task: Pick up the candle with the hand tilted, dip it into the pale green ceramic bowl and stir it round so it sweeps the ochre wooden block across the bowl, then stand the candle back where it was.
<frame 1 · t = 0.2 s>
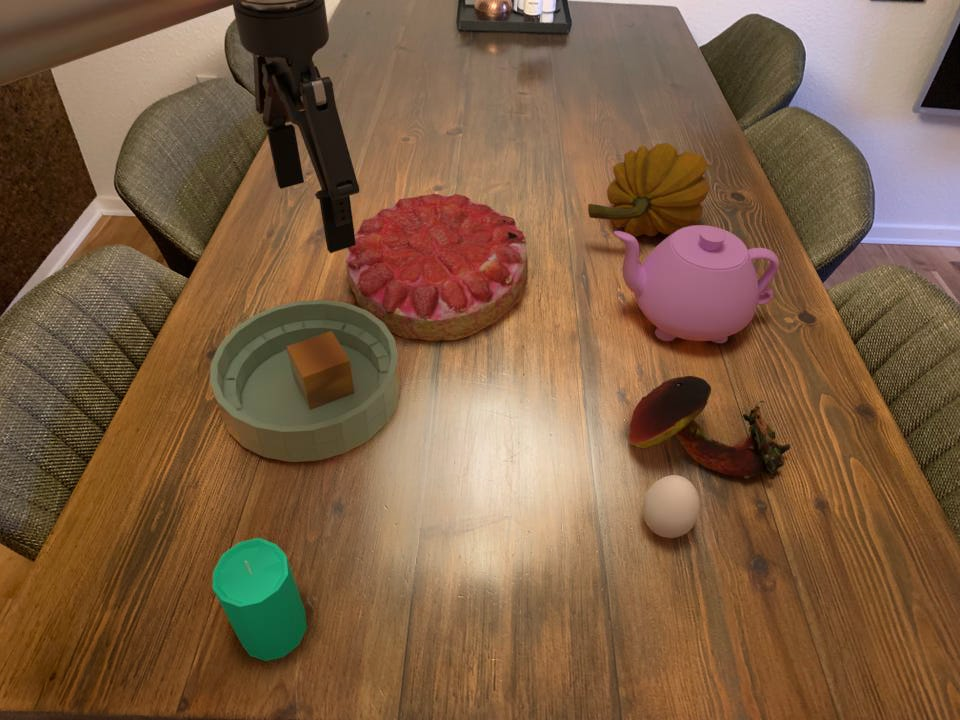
hand: (315, 214, 74), 21 cm above the table, tool pointing down, fingers open, 13 cm apart
block: (324, 386, 84), point 1 cm above the table, touching bowl
fruit: (642, 227, 110), on the table
bowl: (312, 395, 84), on the table
mushroom: (703, 446, 80), on the table
egg: (662, 527, 73), on the table
candle: (273, 628, 64), on the table
cake: (439, 281, 100), on the table
teapot: (679, 318, 96), on the table
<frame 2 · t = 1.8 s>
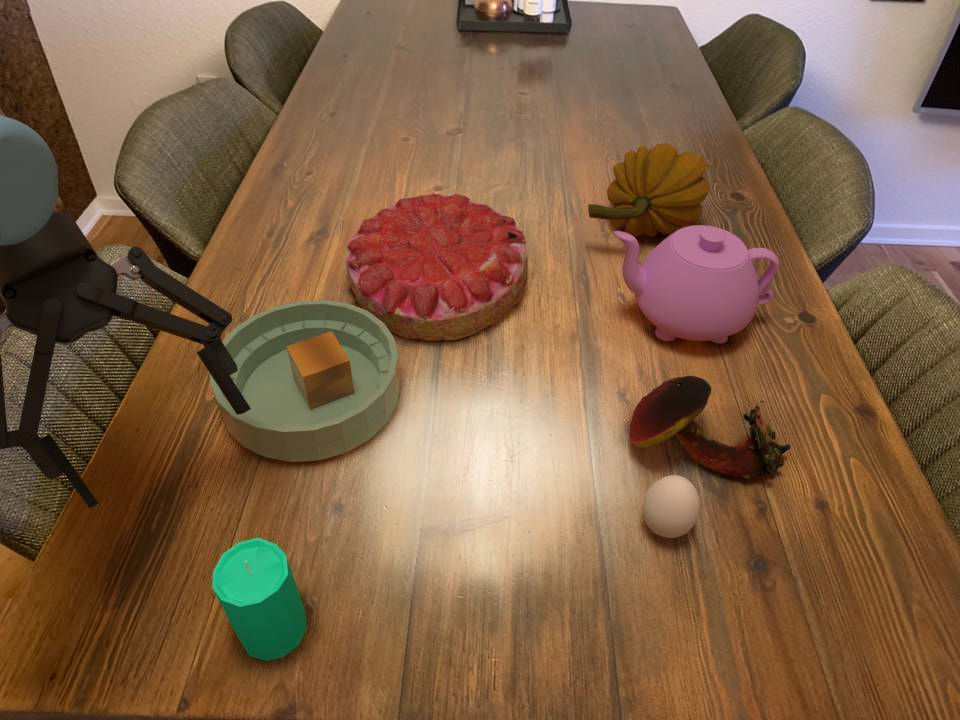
hand: (173, 456, 59), 15 cm above the table, tool tilted 45°, fingers open, 13 cm apart
nothing on the table moved.
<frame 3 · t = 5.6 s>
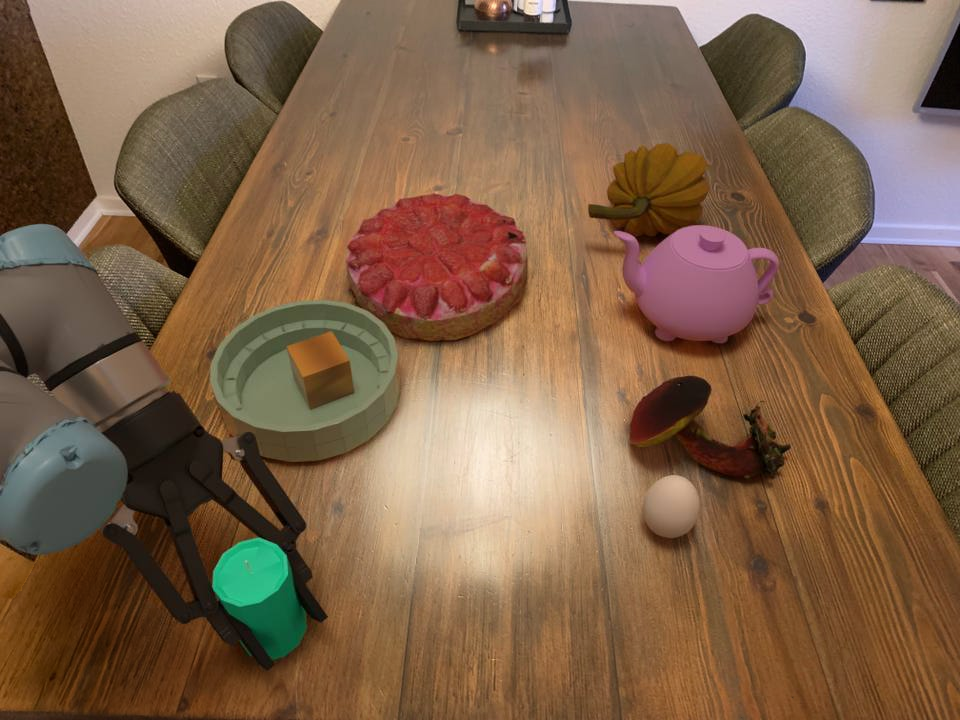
hand: (293, 640, 60), 3 cm above the table, tool tilted 45°, fingers closed on candle, 5 cm apart
candle: (274, 628, 64), on the table, touching gripper
everything else where it was.
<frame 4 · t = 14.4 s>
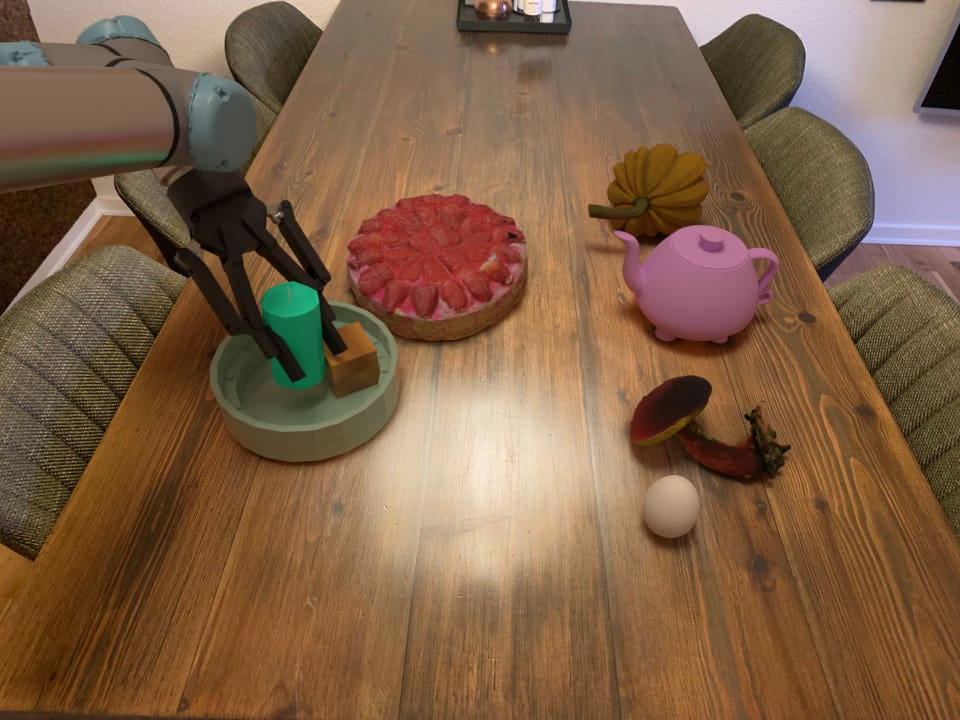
hand: (320, 365, 76), 8 cm above the table, tool tilted 45°, fingers closed on candle, 5 cm apart
block: (350, 376, 85), point 1 cm above the table, touching bowl, candle
candle: (299, 372, 81), point 4 cm above the table, touching block, gripper
everything else where it was.
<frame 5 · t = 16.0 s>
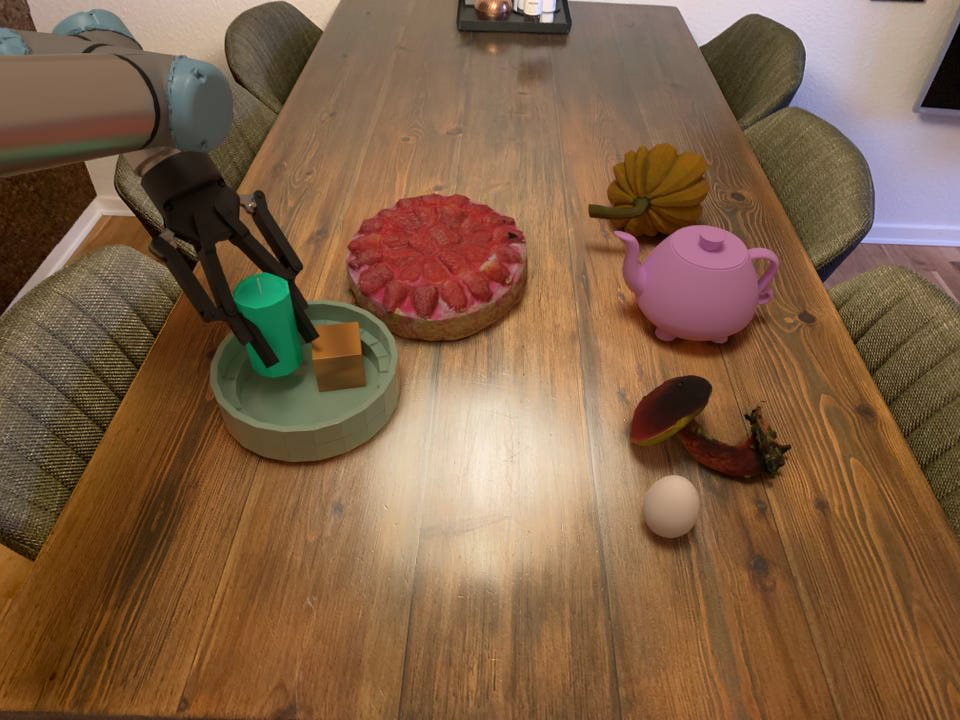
hand: (293, 351, 78), 8 cm above the table, tool tilted 45°, fingers closed on candle, 5 cm apart
block: (341, 372, 86), point 1 cm above the table, touching bowl, gripper
candle: (277, 360, 83), point 3 cm above the table, touching gripper
everything else where it was.
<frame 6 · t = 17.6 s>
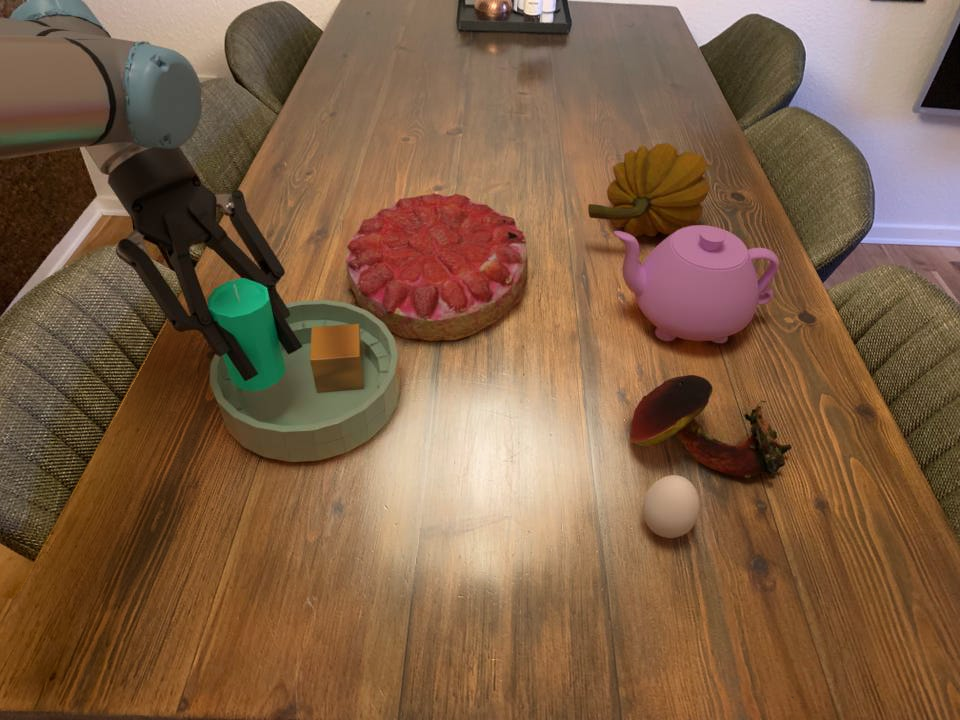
hand: (273, 363, 73), 11 cm above the table, tool tilted 45°, fingers closed on candle, 5 cm apart
block: (340, 374, 85), point 1 cm above the table, touching bowl
candle: (258, 372, 78), point 6 cm above the table, touching gripper
everything else where it was.
when the fingers open (4 cm above the table, at t = 24.5 s): candle stays where it is, on the table.
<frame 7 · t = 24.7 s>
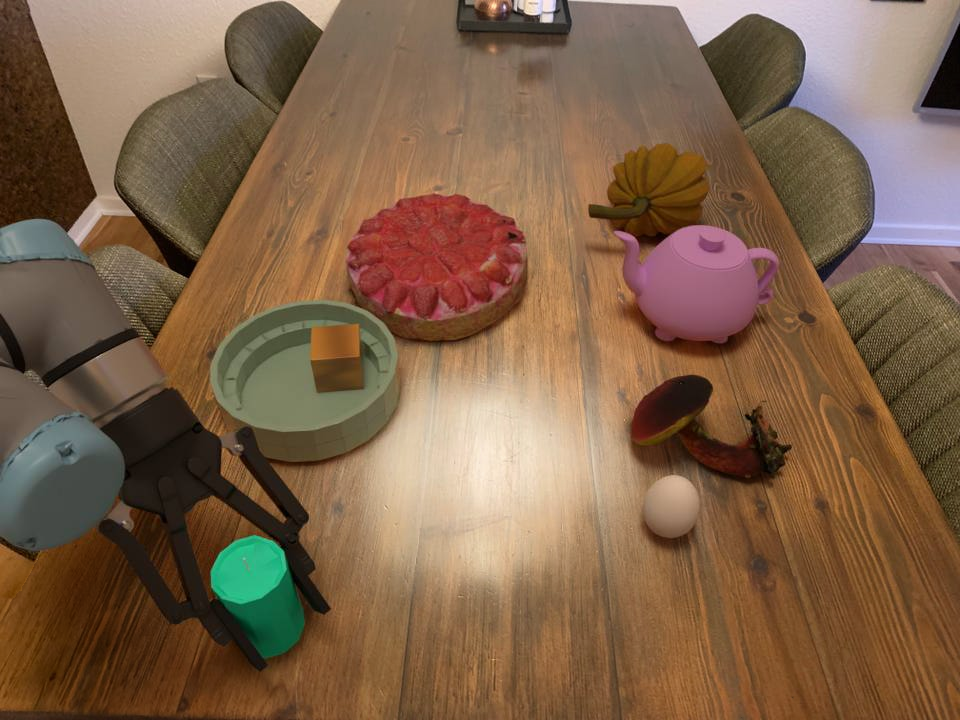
hand: (291, 636, 60), 4 cm above the table, tool tilted 45°, fingers open, 6 cm apart
candle: (272, 626, 64), on the table
everything else where it was.
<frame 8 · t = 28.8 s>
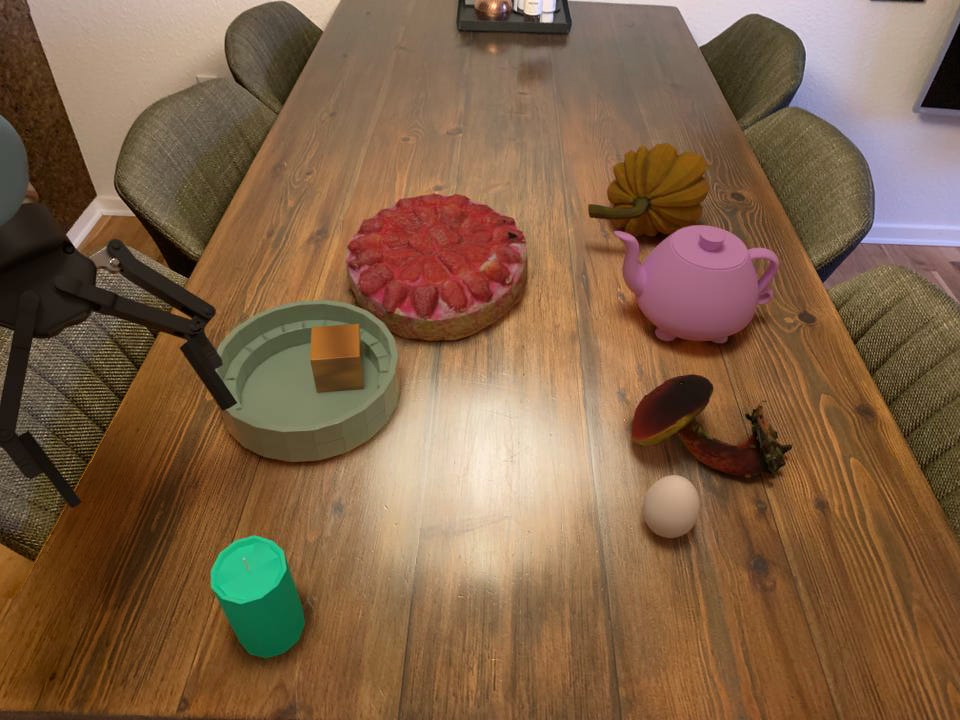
hand: (158, 453, 58), 16 cm above the table, tool tilted 45°, fingers open, 13 cm apart
nothing on the table moved.
at the end: block moved 2.6 cm from its start; block inside the target area in the bowl (4.0 cm from its centre), point 0.8 cm above the bowl's base; candle inside the target area (0.3 cm from its centre), on the table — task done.
